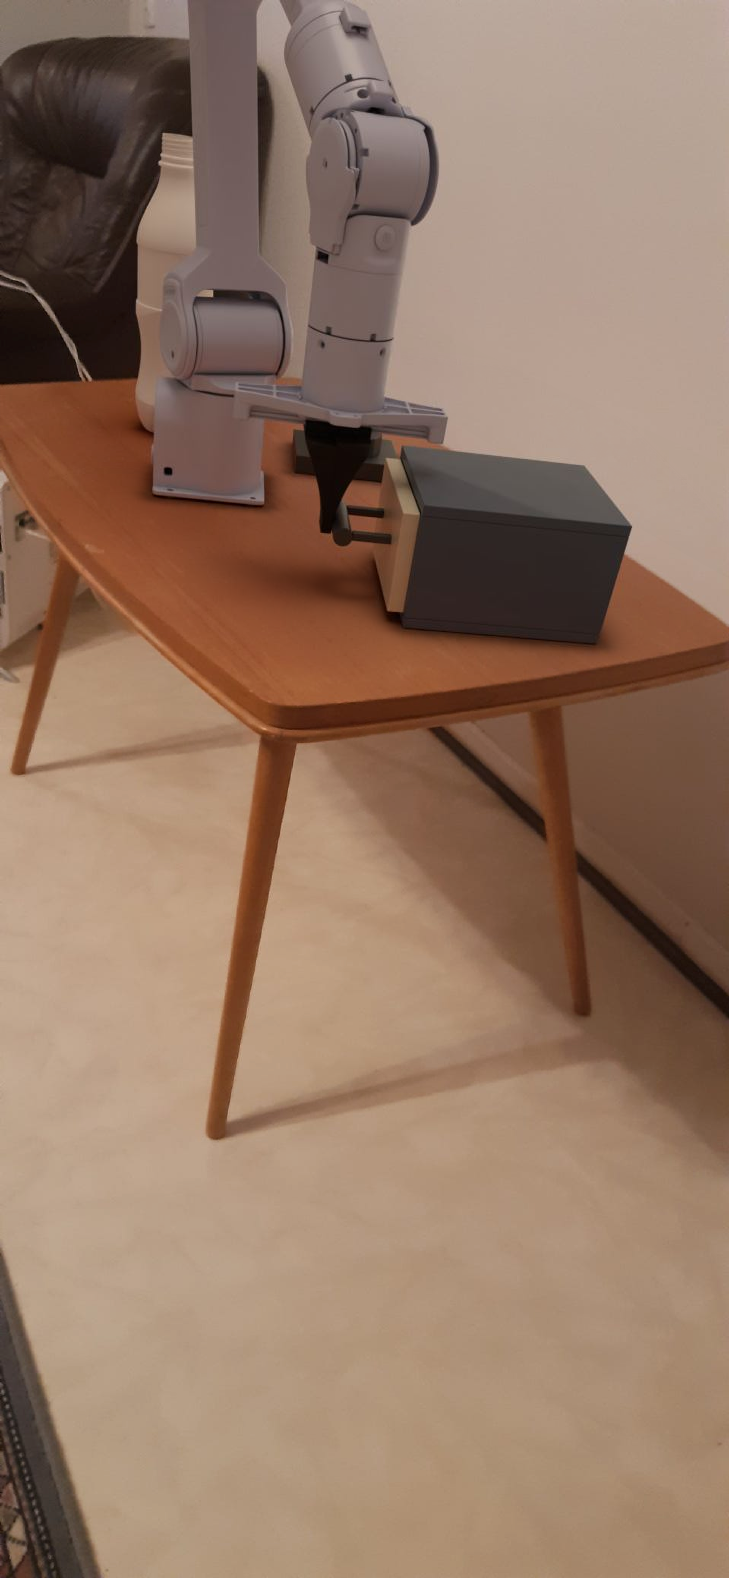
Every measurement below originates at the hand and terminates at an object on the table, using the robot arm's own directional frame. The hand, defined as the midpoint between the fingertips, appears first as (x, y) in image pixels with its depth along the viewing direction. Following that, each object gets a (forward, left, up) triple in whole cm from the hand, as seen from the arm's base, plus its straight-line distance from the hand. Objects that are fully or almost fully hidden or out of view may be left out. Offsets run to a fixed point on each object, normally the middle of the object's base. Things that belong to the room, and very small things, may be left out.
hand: (325, 528), depth 75 cm
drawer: (+9, 0, -4) cm, 10 cm away
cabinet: (+13, 0, -4) cm, 14 cm away
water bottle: (-13, +33, -5) cm, 36 cm away
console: (+4, +28, -4) cm, 29 cm away
